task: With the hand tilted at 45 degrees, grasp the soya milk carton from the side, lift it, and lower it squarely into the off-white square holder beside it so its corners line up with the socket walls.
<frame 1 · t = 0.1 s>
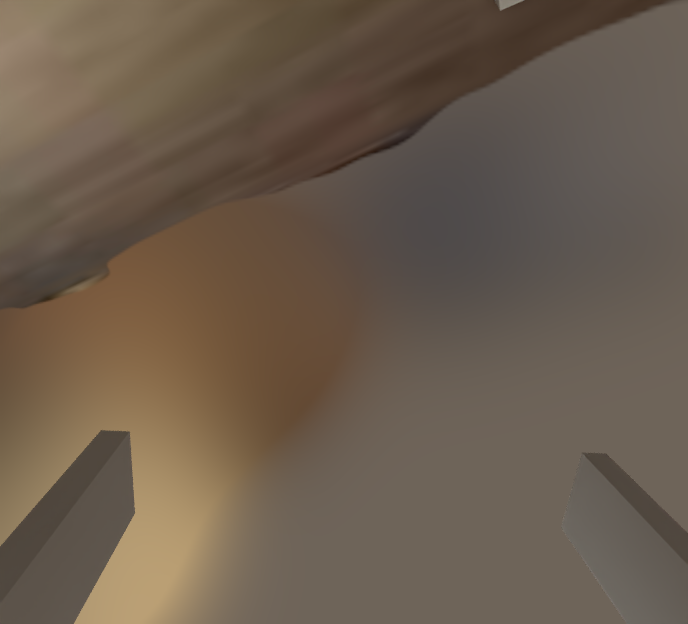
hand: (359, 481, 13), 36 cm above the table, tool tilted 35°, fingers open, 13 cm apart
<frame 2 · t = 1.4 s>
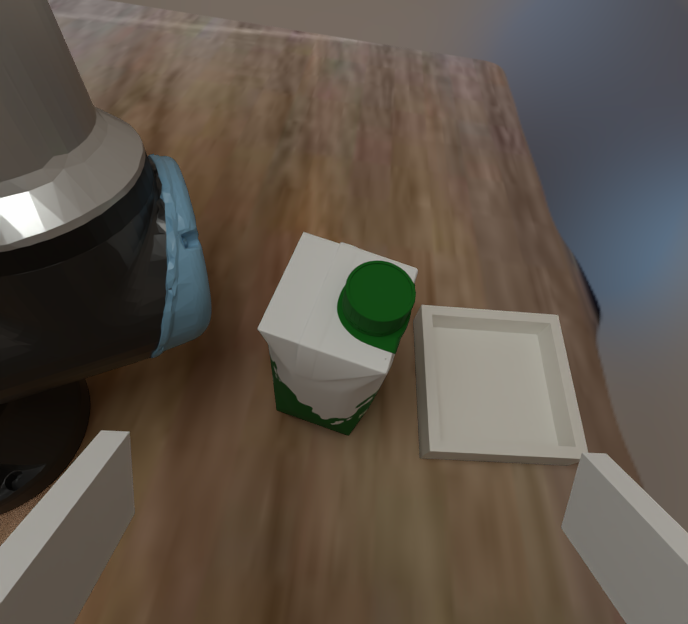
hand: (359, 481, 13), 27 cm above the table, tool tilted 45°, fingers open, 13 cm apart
square holder: (485, 388, 44), on the table
soya milk: (324, 389, 43), on the table
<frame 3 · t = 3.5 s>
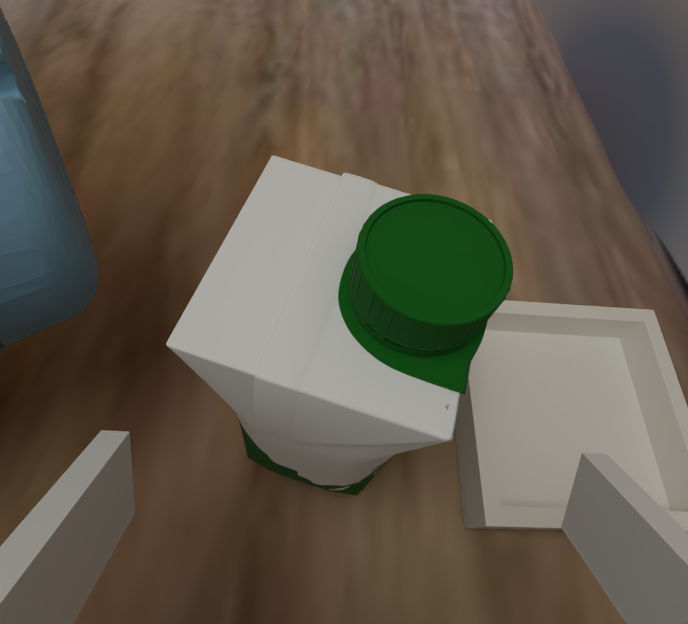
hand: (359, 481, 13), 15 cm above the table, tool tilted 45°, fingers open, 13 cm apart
square holder: (552, 417, 30), on the table
soya milk: (319, 423, 29), on the table
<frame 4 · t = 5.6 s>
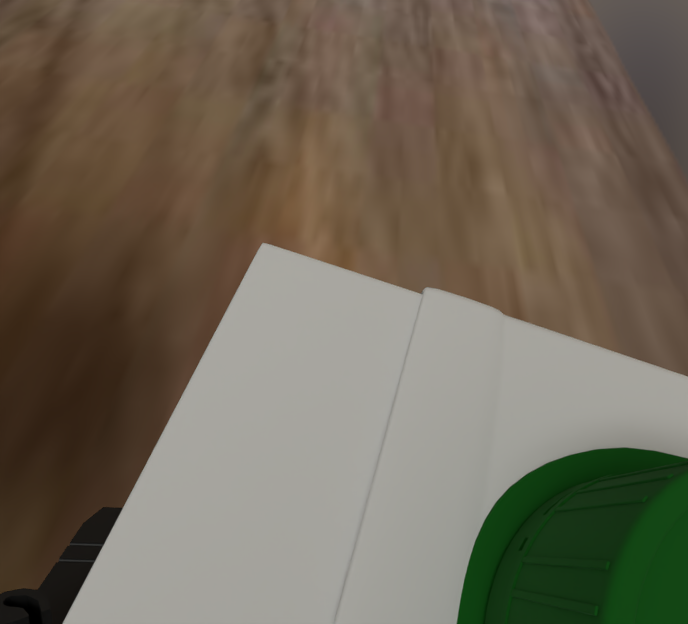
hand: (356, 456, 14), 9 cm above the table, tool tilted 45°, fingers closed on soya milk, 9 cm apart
soya milk: (332, 562, 21), on the table, touching gripper
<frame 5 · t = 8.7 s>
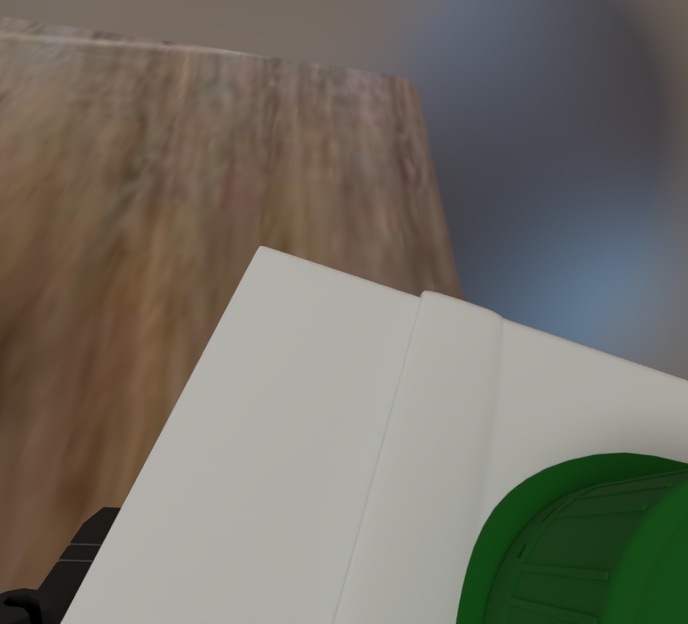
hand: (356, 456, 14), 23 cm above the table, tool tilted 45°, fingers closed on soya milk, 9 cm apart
soya milk: (331, 564, 20), point 14 cm above the table, touching gripper
when the fingers open (11 cm above the table, at t = 11.9 s): soya milk drops 2 cm, resting on square holder.
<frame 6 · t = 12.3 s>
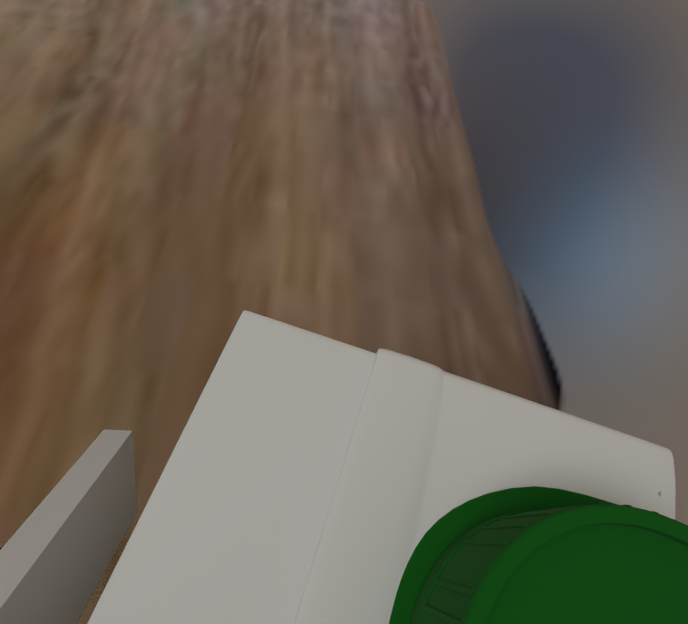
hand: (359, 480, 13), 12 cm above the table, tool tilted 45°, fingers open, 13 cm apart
soya milk: (324, 566, 22), point 1 cm above the table, touching square holder
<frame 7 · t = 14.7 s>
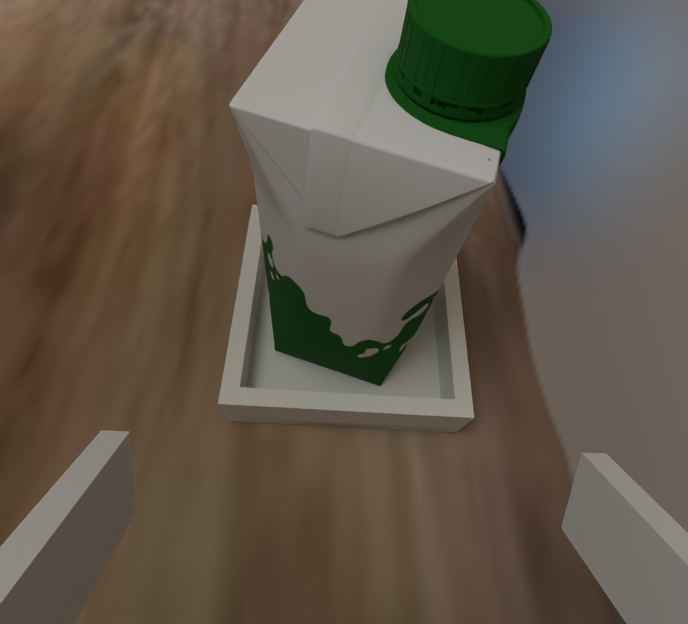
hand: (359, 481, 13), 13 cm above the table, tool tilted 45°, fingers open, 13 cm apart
square holder: (346, 325, 30), on the table
soya milk: (342, 323, 30), point 1 cm above the table, touching square holder
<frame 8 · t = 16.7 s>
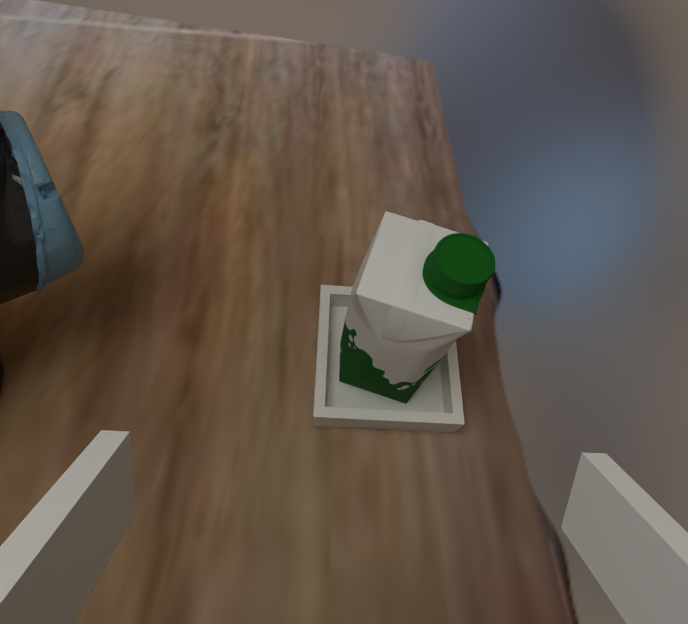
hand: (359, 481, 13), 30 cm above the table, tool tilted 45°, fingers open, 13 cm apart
square holder: (382, 363, 47), on the table
soya milk: (380, 362, 46), point 1 cm above the table, touching square holder
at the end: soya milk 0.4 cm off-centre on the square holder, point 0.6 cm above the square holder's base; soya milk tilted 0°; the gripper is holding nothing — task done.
